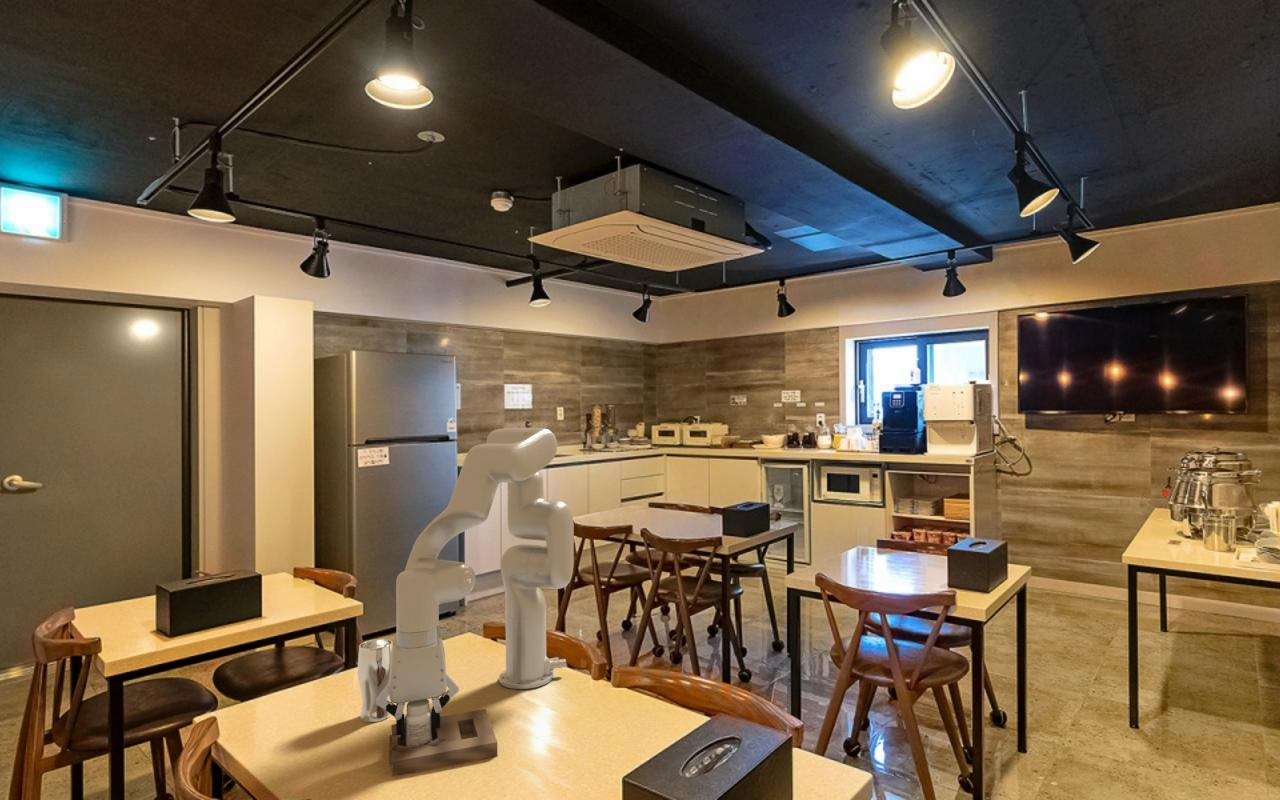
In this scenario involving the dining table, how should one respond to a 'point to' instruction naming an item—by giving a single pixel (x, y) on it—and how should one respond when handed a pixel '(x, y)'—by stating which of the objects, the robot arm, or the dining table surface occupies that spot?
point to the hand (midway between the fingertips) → (418, 734)
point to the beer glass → (373, 677)
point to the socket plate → (446, 744)
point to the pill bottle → (418, 724)
